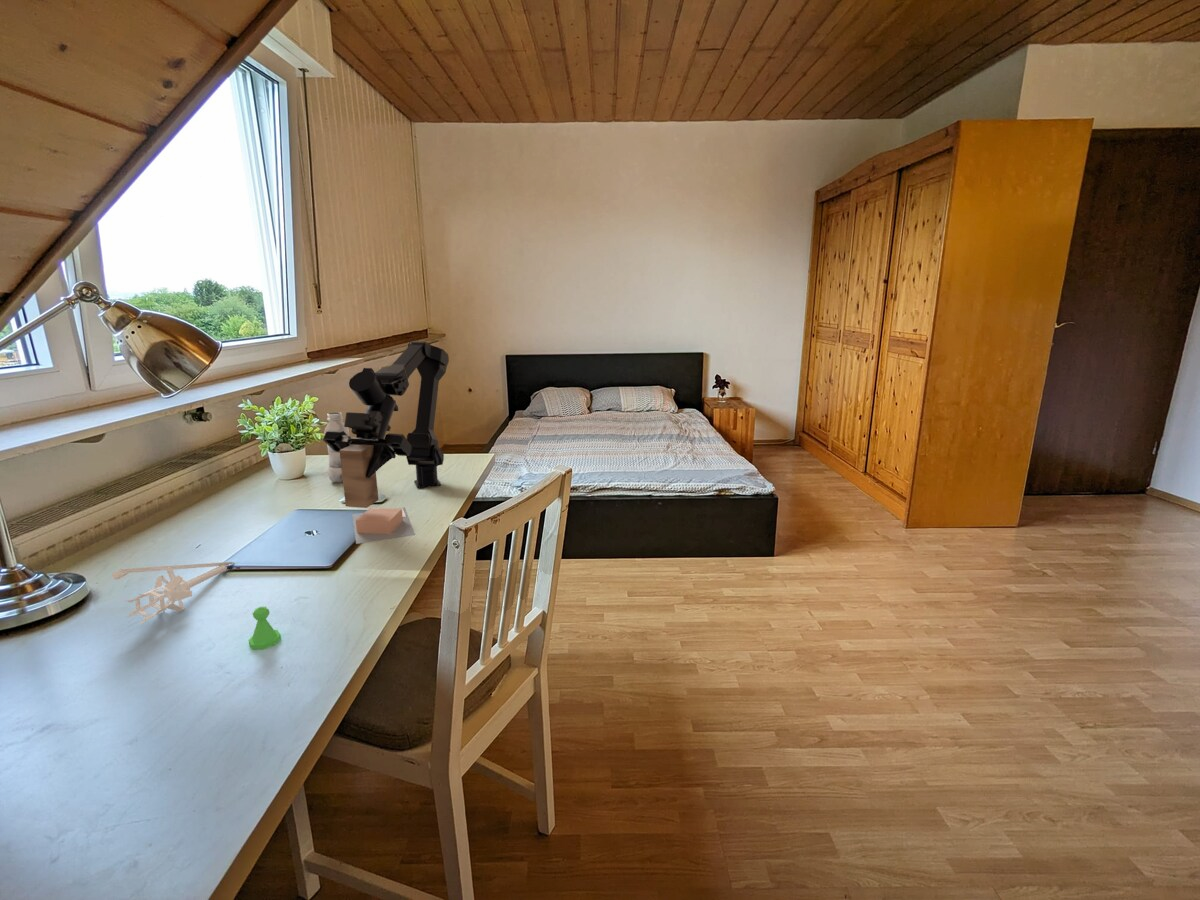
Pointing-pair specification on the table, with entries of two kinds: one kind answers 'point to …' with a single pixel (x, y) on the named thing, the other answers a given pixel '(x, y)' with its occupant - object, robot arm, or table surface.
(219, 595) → the table surface
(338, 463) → the plastic bottle
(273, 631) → the game piece
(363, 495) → the pillar
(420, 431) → the robot arm
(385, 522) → the plinth
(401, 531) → the base board
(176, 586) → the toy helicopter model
